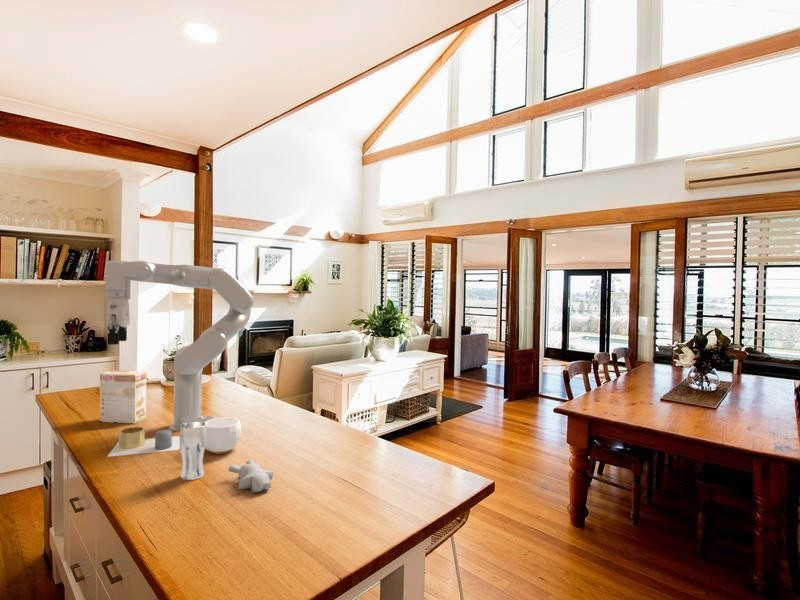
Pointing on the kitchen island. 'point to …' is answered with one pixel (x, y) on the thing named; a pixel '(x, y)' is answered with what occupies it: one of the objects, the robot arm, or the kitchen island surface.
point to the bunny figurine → (252, 476)
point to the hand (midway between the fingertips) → (117, 342)
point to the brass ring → (131, 437)
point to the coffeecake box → (122, 396)
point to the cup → (222, 434)
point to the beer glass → (192, 449)
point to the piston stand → (151, 445)
